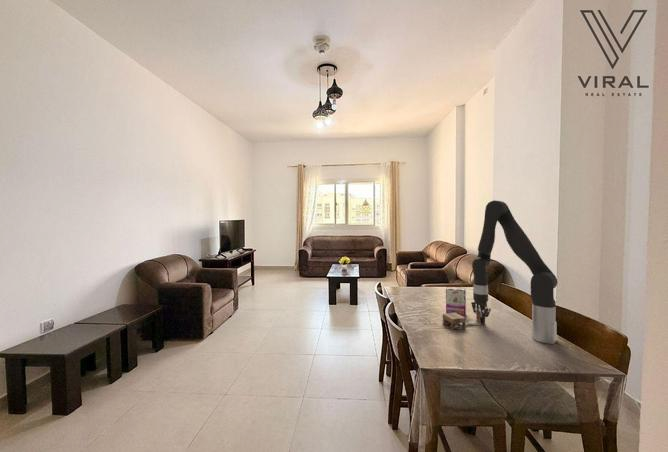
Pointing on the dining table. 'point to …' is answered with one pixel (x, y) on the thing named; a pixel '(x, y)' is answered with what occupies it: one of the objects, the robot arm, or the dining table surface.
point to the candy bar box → (456, 301)
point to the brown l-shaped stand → (472, 323)
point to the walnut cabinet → (454, 320)
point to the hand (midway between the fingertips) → (480, 322)
